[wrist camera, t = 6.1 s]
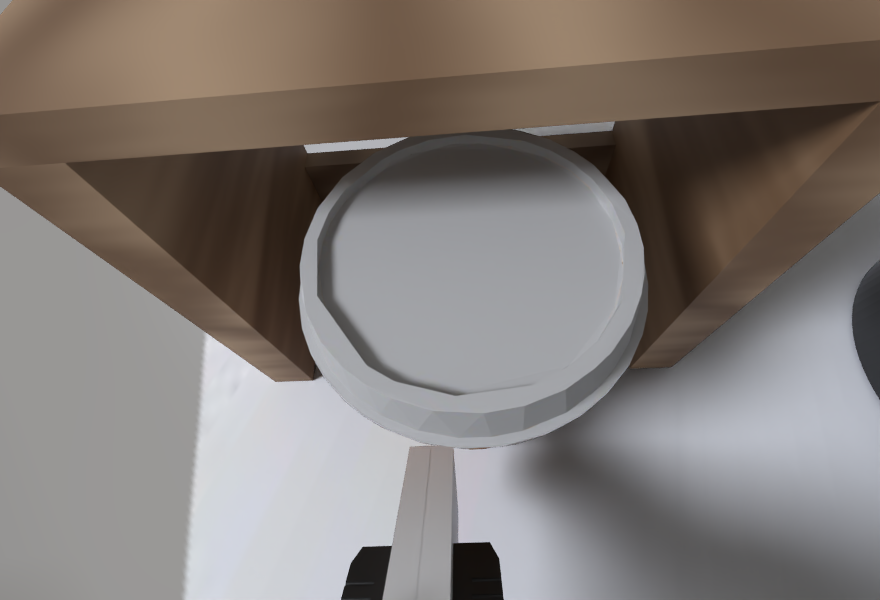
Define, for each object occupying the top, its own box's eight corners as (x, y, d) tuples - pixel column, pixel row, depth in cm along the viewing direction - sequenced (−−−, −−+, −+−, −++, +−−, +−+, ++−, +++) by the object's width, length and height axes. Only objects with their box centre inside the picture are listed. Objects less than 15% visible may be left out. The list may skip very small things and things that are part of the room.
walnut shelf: (623, 195, 26) (795, -206, 12) (671, 367, 21) (1083, 22, 7) (304, 215, 27) (114, -122, 13) (275, 381, 22) (-91, 122, 8)
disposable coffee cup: (374, 314, 24) (288, 141, 13) (544, 288, 23) (596, 93, 13) (385, 502, 19) (268, 471, 9) (596, 471, 19) (742, 400, 8)
